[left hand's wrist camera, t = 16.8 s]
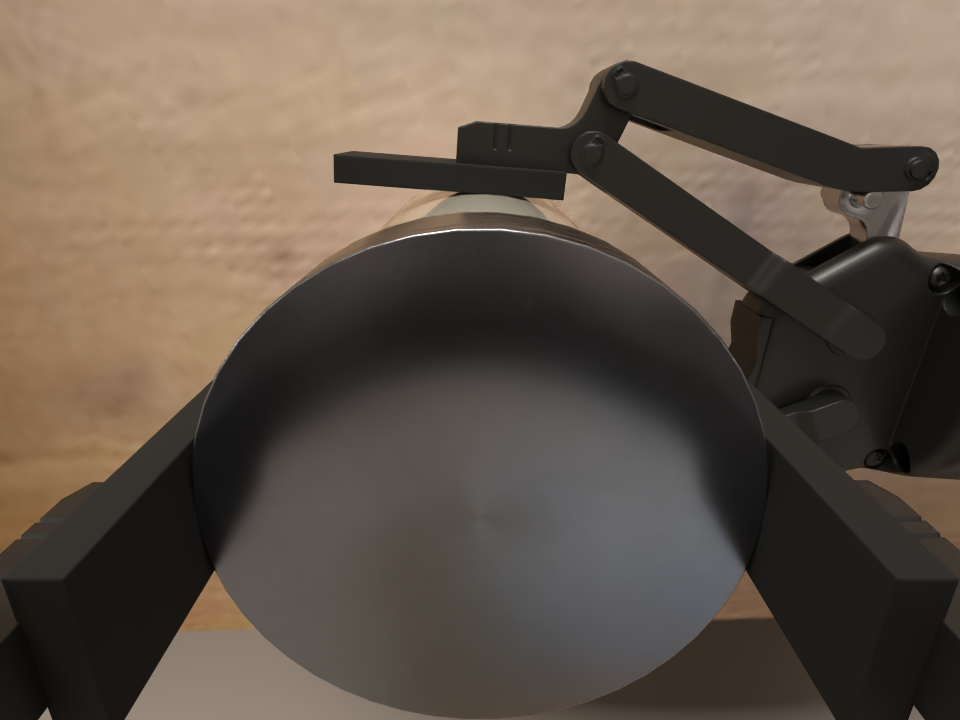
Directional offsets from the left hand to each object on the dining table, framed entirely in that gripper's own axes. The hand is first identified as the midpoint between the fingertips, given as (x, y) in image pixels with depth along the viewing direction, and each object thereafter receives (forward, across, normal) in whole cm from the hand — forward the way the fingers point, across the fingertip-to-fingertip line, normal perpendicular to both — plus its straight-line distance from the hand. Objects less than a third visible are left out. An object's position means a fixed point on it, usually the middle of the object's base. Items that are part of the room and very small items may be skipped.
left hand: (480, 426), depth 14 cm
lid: (-3, 0, 0) cm, 3 cm away
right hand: (+7, -4, 0) cm, 8 cm away
